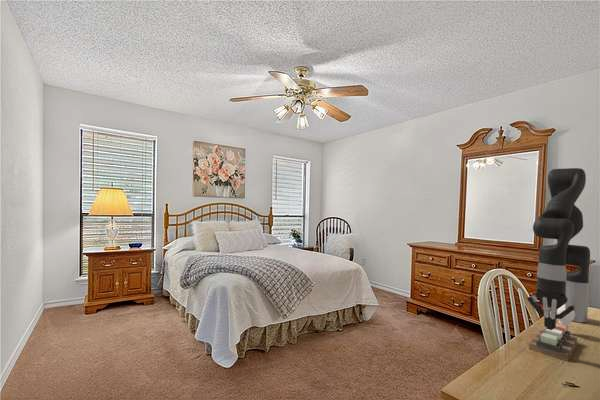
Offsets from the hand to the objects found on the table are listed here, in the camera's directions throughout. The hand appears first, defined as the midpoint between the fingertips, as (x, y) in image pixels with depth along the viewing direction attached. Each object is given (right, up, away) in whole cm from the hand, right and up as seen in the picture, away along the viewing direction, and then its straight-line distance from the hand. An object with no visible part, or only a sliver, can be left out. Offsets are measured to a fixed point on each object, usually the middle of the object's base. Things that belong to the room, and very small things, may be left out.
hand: (549, 328), depth 102 cm
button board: (+6, -8, +5) cm, 11 cm away
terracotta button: (+12, -5, +11) cm, 17 cm away
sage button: (0, -5, 0) cm, 5 cm away
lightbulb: (+21, -9, +18) cm, 29 cm away
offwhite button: (+6, -5, +5) cm, 9 cm away
